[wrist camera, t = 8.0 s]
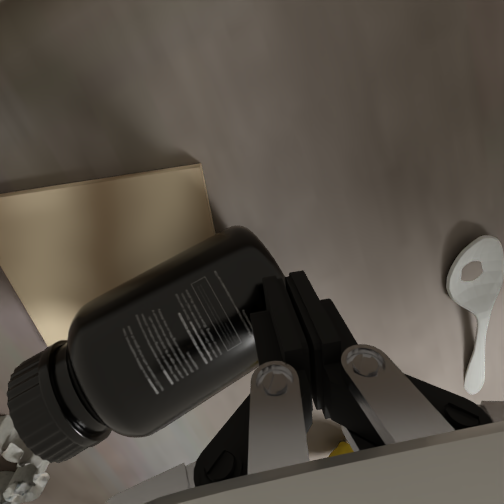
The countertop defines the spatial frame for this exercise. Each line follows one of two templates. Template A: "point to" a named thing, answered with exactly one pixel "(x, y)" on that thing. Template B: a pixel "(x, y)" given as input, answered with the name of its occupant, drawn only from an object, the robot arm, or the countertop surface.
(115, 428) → the supplement bottle
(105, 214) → the cutting board
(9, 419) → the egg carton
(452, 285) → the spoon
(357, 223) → the countertop surface
